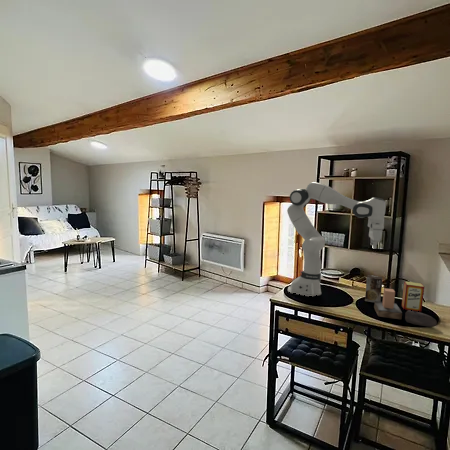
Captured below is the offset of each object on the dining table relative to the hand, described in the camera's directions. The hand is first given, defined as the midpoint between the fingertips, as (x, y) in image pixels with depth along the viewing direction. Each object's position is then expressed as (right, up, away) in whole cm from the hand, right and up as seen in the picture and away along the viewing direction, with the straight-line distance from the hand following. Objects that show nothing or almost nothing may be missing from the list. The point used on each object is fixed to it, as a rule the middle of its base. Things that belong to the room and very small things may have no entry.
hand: (373, 246), depth 200 cm
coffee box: (+4, -36, +10) cm, 38 cm away
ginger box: (+23, -38, -1) cm, 44 cm away
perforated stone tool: (+14, -41, -24) cm, 50 cm away
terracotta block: (+4, -34, -10) cm, 36 cm away
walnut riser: (+4, -38, -9) cm, 40 cm away
